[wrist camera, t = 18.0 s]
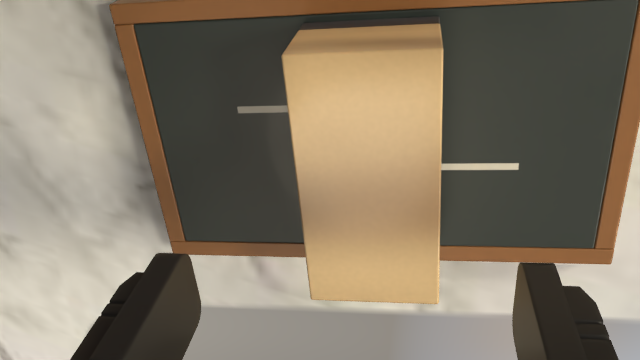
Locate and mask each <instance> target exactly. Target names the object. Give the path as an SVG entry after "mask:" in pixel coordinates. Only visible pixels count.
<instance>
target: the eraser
mask: <svg viewBox="0 0 640 360" xmlns="http://www.w3.org/2000/svg"><path fill="white" fill-rule="evenodd" d="M281 58H282V67H283V75H284V83H285V91H286V99H287V108H288V116H289V124H290V132H291V140H292V149H293V157H294V165H295V173H296V181H297V189H298V198H299V206H300V214H301V222H302V230H303V239H304V247H305V255H306V263H307V271H308V280H309V288H310V296H311V299H312V300H335V301H364V302H392V303H421V304H438V303H439V265H440V211H441V157H442V103H443V42H442V34H441V26H440V18H439V17H438V16H432V17H412V18H392V19H372V20H353V21H333V22H313V23H303V24H302V26H301V27H300V29H299V31H298V32H297V33H296V35H295V36H294V38H293V39H292V41H291V42H290V44H289V45H288V46H287V48H286V49H285V51H284V52H283V54H282V56H281Z"/></svg>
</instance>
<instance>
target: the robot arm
mask: <svg viewBox="0 0 640 360" xmlns="http://www.w3.org/2000/svg"><path fill="white" fill-rule="evenodd" d="M101 314H102V315H101V316H99V317H98V319H97V320H96V322H95V323H94V325H93V326H92V328H91V329H90V331H89V332H88V334H87V335H86V337H85V338H84V340H83V341H82V343H81V344H80V346H79V347H78V349H77V350H76V352H75V353H74V355H73V356H72V358H71V359H70V360H182V359H183V357H184V355H185V352H186V350H187V348H188V346H189V343H190V341H191V339H192V337H193V335H194V332H195V330H196V328H197V326H198V323H199V320H200V314H201V300H200V296H199V291H198V287H197V283H196V279H195V275H194V271H193V266H192V262H191V259H190V257H189V255H188V254H179V253H158V254H156V255H155V256H154V258H153V259H152V261H151V262H150V264H149V265H148V267H147V269H146V270H145V272H144V273H141V272H136V273H135V274H134V275H133V276H131V277H130V278H129V279H128V280H126V281H125V282H124V283H123V284H121V285H120V286H119V288H118V289H117V291H116V292H115V294H114V295H113V297H112V298H111V300H110V303H109V304H107V306H106V307H105V309H104V310H103V312H102V313H101ZM512 321H513V336H514V342H515V347H516V352H517V357H518V360H618V357H617V355H616V352H615V350H614V347H613V345H612V342H611V340H609V335H608V332H607V330H606V327H605V325H603V319H602V317H601V314H600V312H599V309H598V307H597V304H596V303H595V302H594V301H593V300H592V299H591V298H590V297H589V296H588V295H587V294H586V293H585V292H584V291H583V290H582V289H581V288H580V287H576V286H562V283H561V280H560V277H559V275H558V272H557V269H556V266H555V264H553V263H519V266H518V272H517V280H516V289H515V298H514V306H513V320H512Z"/></svg>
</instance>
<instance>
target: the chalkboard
mask: <svg viewBox="0 0 640 360" xmlns="http://www.w3.org/2000/svg"><path fill="white" fill-rule="evenodd" d="M109 7H110V11H111V15H112V18H113V22H114V24H115V30H116V34H117V38H118V42H119V46H120V50H121V53H122V57H123V61H124V65H125V69H126V73H127V77H128V80H129V84H130V88H131V92H132V96H133V100H134V104H135V108H136V111H137V115H138V119H139V123H140V127H141V131H142V135H143V138H144V142H145V146H146V150H147V154H148V158H149V162H150V166H151V169H152V173H153V177H154V181H155V185H156V189H157V193H158V197H159V200H160V204H161V208H162V212H163V216H164V220H165V224H166V227H167V231H168V235H169V239H170V243H171V247H172V251H173V253H179V254H188V255H230V256H273V257H306V255H305V247H304V239H303V230H302V222H301V214H300V206H299V198H298V189H297V181H296V173H295V165H294V157H293V149H292V140H291V132H290V124H289V116H288V108H287V99H286V91H285V83H284V75H283V67H282V58H281V56H282V54H283V52H284V51H285V49H286V48H287V46H288V45H289V44H290V42H291V41H292V39H293V38H294V36H295V35H296V33H297V32H298V31H299V29H300V27H301V26H302V24H303V23H313V22H333V21H353V20H372V19H392V18H412V17H432V16H438V17H439V18H440V26H441V34H442V42H443V103H442V157H441V211H440V260H446V261H490V262H533V263H576V264H611V263H612V258H613V253H614V249H613V248H614V246H615V241H616V236H617V231H618V226H619V221H620V217H621V212H622V207H623V202H624V197H625V192H626V187H627V182H628V177H629V172H630V167H631V162H632V157H633V152H634V147H635V142H636V137H637V132H638V127H639V122H640V0H118V1H116V2H113V3H111V4H110V5H109Z"/></svg>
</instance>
